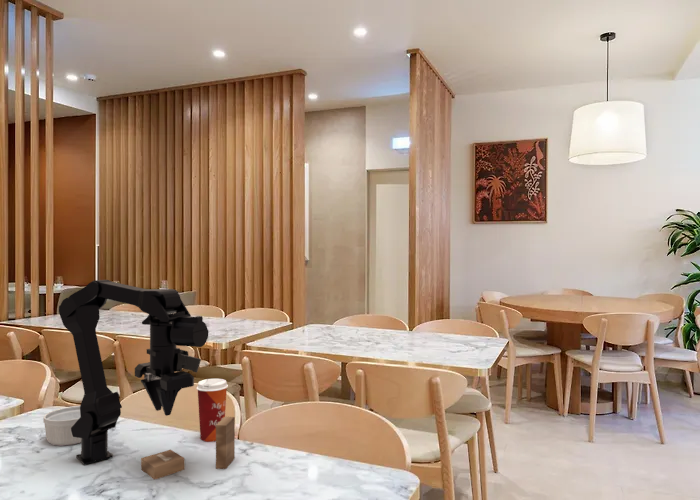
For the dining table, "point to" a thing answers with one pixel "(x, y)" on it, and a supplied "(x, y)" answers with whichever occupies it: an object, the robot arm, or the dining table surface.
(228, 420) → the wooden block
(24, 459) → the dining table surface
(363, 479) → the dining table surface
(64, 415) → the ramekin
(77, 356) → the robot arm
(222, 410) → the coffee cup
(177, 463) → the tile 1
